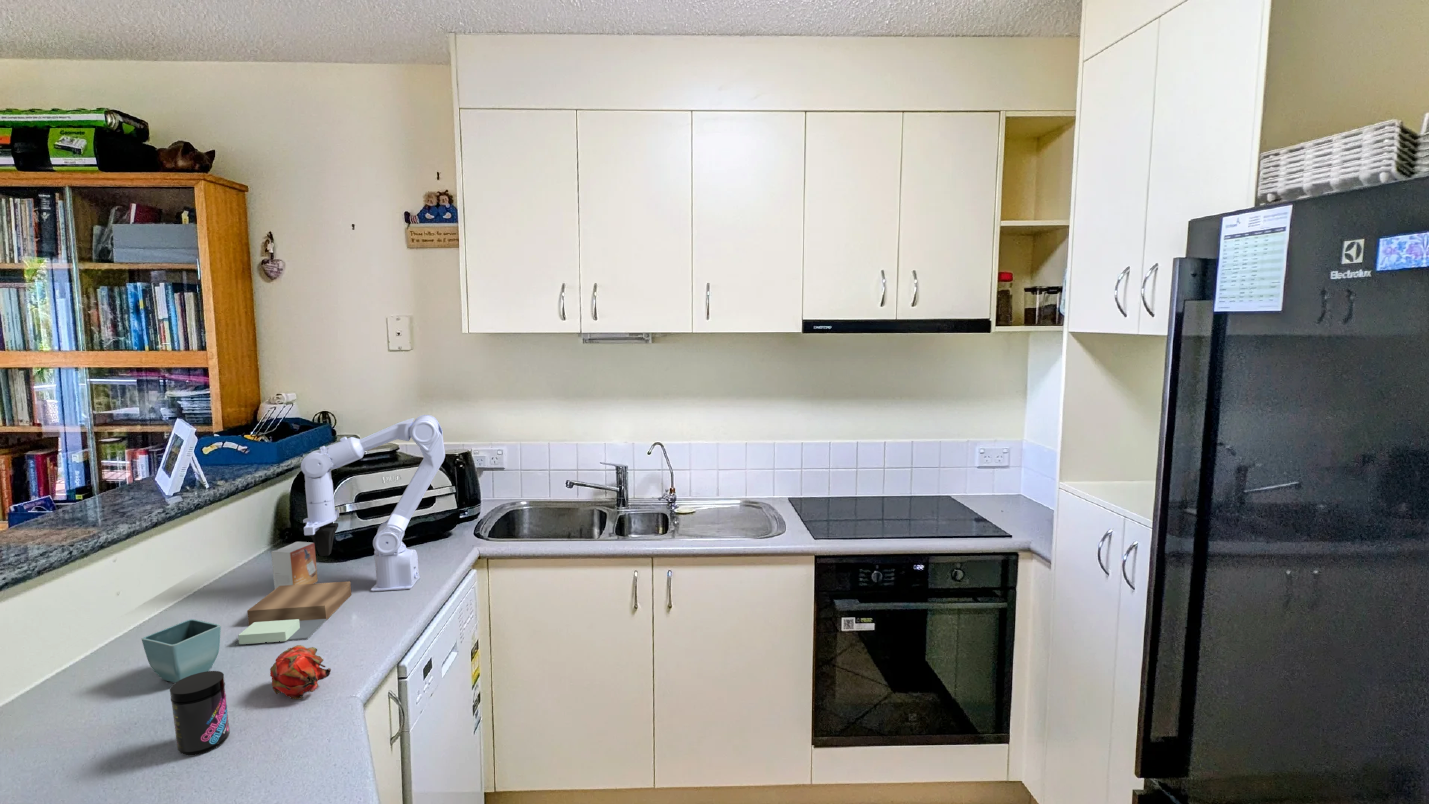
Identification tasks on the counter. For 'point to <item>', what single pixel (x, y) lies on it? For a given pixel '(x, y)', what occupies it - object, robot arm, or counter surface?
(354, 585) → the counter surface
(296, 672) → the dragon fruit
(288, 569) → the small box
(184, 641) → the flower pot
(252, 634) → the sage green block
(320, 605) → the brown flat block
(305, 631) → the mat
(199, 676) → the supplement container
